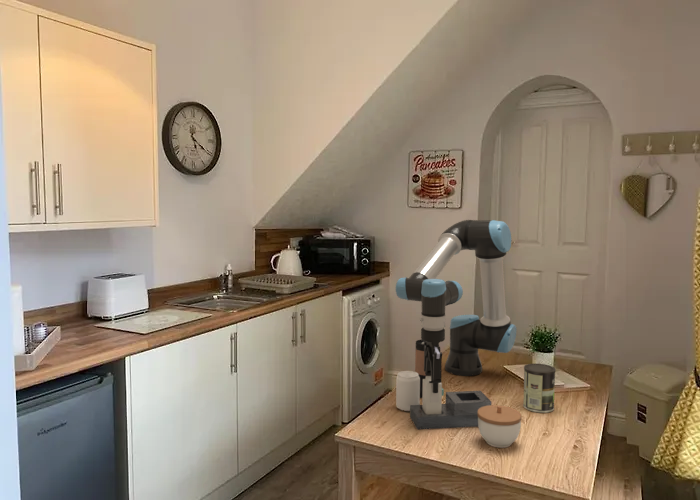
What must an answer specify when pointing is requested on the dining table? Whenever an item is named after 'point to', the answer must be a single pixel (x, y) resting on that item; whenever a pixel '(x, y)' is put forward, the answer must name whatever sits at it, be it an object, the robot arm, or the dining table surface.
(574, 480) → the dining table surface
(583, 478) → the dining table surface
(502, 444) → the lidded bowl
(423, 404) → the plug
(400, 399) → the beverage can
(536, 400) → the coffee can
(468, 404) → the grey stepped socket block
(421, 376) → the travel mug
